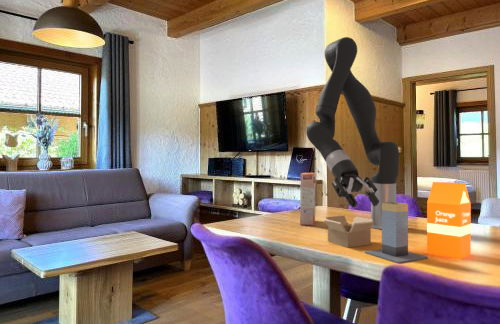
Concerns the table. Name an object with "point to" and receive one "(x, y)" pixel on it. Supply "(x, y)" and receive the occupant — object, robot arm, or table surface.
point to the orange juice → (449, 220)
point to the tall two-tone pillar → (395, 229)
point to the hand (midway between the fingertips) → (366, 205)
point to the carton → (349, 231)
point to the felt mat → (399, 259)
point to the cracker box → (307, 199)
